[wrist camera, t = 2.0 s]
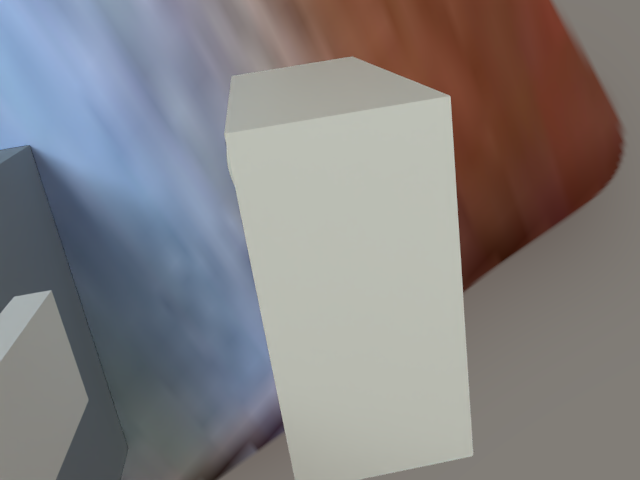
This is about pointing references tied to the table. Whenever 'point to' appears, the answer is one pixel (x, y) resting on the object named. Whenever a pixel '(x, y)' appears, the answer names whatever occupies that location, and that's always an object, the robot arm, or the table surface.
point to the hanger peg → (355, 263)
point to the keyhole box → (54, 274)
